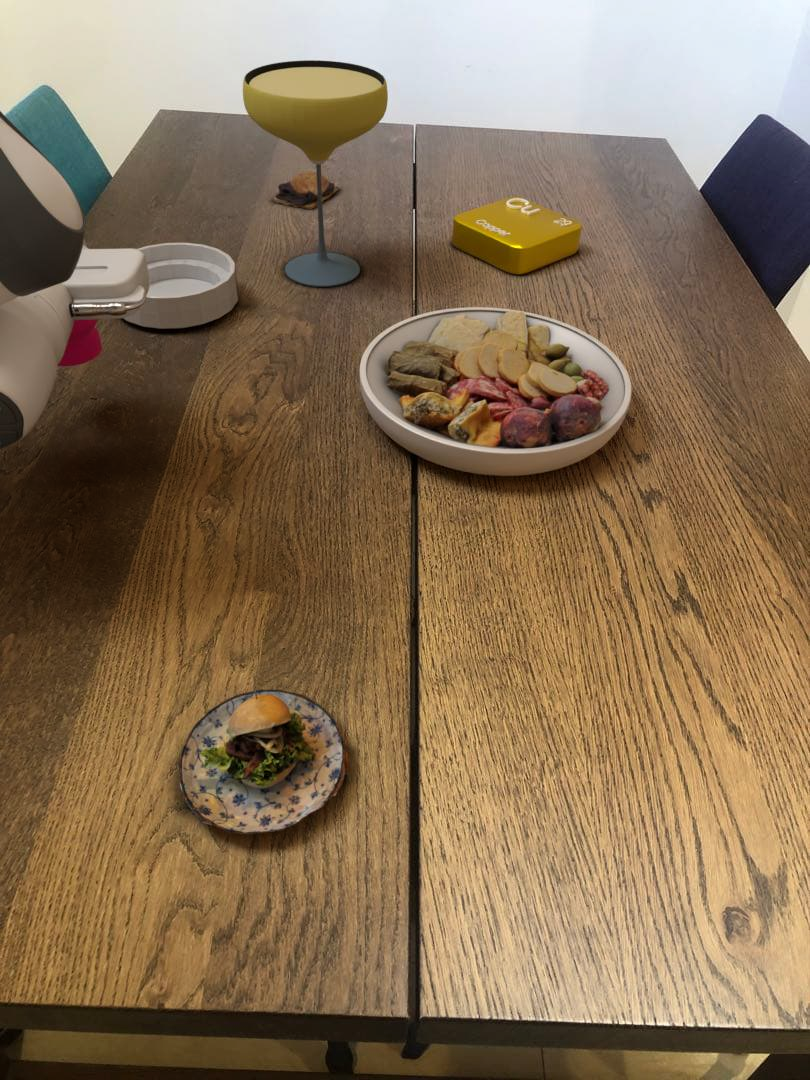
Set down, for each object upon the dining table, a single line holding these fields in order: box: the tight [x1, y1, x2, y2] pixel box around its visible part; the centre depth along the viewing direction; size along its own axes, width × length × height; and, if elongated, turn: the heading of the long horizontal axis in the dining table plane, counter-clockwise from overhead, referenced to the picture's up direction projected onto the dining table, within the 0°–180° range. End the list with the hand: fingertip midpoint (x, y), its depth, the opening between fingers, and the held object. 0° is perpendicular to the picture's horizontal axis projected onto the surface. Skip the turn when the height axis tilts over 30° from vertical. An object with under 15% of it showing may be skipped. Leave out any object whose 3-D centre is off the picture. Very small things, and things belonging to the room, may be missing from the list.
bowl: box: [359, 306, 633, 477], centre depth 91 cm, size 30×30×8 cm
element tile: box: [451, 195, 583, 276], centre depth 125 cm, size 15×15×5 cm
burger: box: [178, 676, 349, 835], centre depth 57 cm, size 12×12×8 cm
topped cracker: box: [272, 170, 339, 210], centre depth 138 cm, size 11×8×4 cm
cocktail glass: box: [242, 59, 389, 288], centre depth 110 cm, size 18×18×25 cm
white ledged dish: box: [122, 242, 239, 330], centre depth 108 cm, size 16×16×5 cm
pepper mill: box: [57, 319, 103, 367], centre depth 79 cm, size 7×7×20 cm
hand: (46, 245), depth 79 cm, fingers closed on pepper mill, 4 cm apart
